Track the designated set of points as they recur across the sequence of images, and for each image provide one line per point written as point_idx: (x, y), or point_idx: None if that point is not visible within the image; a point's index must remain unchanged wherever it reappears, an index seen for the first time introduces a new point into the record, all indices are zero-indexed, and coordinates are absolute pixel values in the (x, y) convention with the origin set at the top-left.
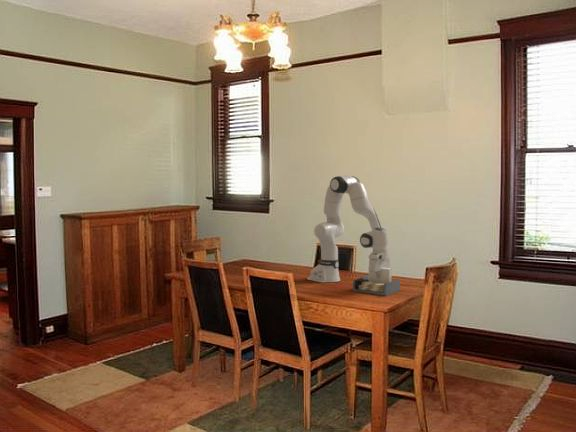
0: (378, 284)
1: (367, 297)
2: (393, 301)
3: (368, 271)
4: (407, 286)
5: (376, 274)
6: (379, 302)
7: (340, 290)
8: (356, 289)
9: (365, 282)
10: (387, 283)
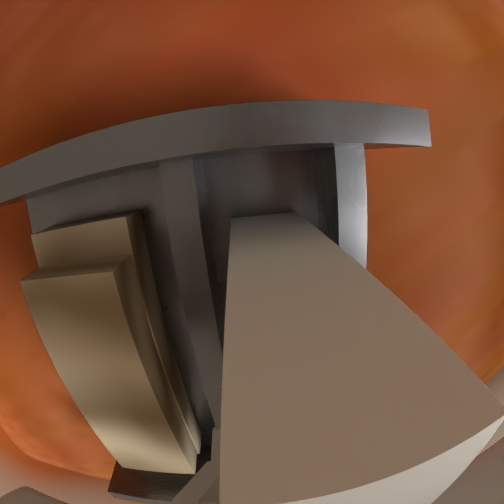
0: (115, 445)
1: (27, 368)
2: (99, 467)
3: (224, 331)
4: (474, 357)
5: (201, 476)
6: (39, 433)
7: (19, 78)
8: (31, 220)
9: (54, 320)
10: (137, 501)
